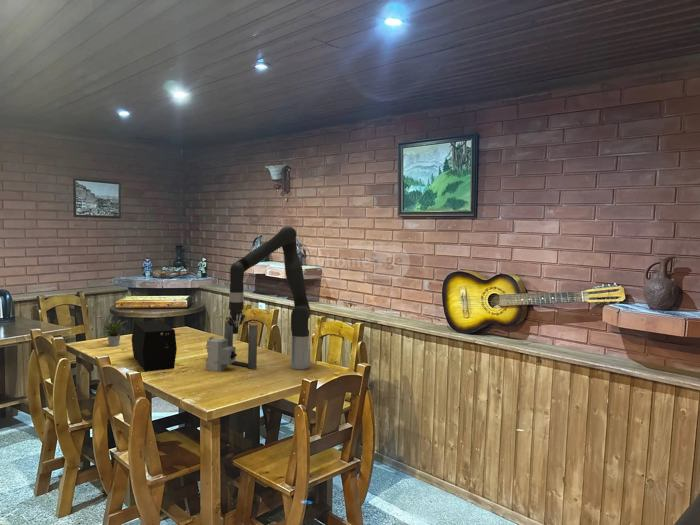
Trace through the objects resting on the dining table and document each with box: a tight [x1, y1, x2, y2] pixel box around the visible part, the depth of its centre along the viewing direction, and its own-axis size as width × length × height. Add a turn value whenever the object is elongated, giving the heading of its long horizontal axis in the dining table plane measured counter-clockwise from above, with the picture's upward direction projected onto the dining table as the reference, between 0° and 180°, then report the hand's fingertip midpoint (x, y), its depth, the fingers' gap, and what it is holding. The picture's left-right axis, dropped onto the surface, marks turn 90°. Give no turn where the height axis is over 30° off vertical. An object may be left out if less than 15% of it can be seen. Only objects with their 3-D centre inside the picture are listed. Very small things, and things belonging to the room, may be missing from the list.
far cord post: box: [223, 318, 234, 365], centre depth 267 cm, size 5×5×24 cm
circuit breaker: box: [205, 337, 238, 372], centre depth 255 cm, size 8×14×15 cm, turn 78°
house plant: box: [103, 319, 127, 348], centre depth 299 cm, size 14×14×16 cm
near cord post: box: [247, 321, 259, 370], centre depth 259 cm, size 5×5×24 cm
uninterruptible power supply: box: [131, 319, 178, 373], centre depth 262 cm, size 16×34×20 cm, turn 32°
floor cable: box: [231, 360, 248, 368], centre depth 264 cm, size 11×2×2 cm, turn 64°
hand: (235, 333), depth 259 cm, fingers closed
